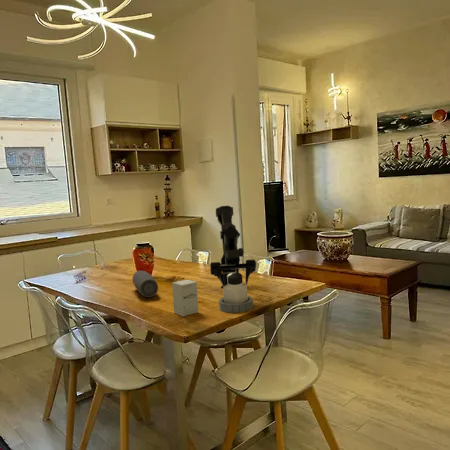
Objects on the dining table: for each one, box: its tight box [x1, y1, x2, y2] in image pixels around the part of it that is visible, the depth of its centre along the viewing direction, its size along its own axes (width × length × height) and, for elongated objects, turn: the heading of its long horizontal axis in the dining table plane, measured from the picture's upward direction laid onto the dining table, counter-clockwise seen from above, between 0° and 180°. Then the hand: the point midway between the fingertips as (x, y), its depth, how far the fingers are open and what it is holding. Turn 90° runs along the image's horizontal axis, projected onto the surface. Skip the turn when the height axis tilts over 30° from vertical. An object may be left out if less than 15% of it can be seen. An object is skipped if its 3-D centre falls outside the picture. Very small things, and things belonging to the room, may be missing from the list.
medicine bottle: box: [222, 272, 249, 304], centre depth 174 cm, size 7×7×12 cm
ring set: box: [73, 262, 108, 284], centre depth 245 cm, size 25×12×12 cm, turn 145°
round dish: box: [218, 295, 254, 314], centre depth 175 cm, size 14×14×3 cm
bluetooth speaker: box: [132, 270, 159, 298], centre depth 205 cm, size 23×9×10 cm, turn 21°
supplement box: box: [171, 279, 199, 317], centre depth 171 cm, size 7×7×13 cm
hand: (235, 284), depth 173 cm, fingers closed on medicine bottle, 9 cm apart
